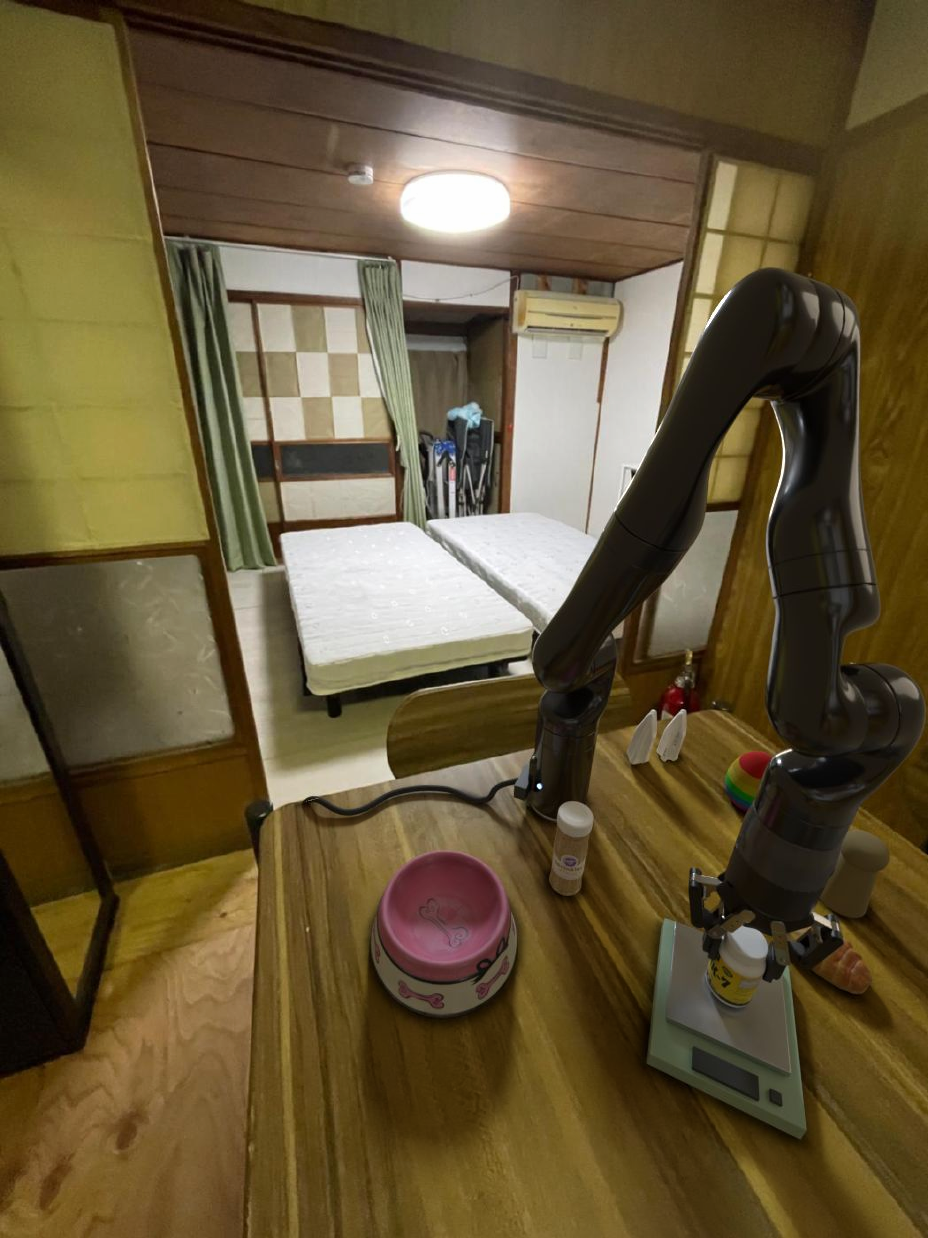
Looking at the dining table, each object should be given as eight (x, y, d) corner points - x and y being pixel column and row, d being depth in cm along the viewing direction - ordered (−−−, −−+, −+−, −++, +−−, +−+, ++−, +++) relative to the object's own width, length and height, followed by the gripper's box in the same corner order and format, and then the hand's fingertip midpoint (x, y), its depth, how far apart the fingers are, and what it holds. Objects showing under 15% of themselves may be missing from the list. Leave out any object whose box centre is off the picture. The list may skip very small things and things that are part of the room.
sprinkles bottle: (552, 898, 70) (562, 827, 64) (546, 868, 74) (554, 799, 68) (585, 897, 70) (598, 826, 64) (577, 867, 74) (588, 799, 68)
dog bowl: (448, 849, 77) (448, 816, 74) (547, 938, 65) (552, 903, 62) (341, 934, 65) (336, 899, 62) (439, 1061, 53) (439, 1026, 50)
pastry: (878, 977, 61) (890, 958, 60) (849, 1010, 58) (861, 991, 56) (798, 913, 68) (807, 894, 67) (769, 939, 65) (777, 920, 64)
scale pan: (665, 1021, 55) (667, 1016, 55) (674, 925, 64) (675, 921, 64) (788, 1077, 51) (791, 1073, 50) (778, 966, 60) (780, 962, 60)
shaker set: (630, 772, 92) (640, 723, 87) (617, 757, 95) (626, 708, 91) (686, 759, 95) (698, 711, 90) (671, 745, 99) (683, 697, 94)
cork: (875, 922, 67) (908, 865, 63) (825, 913, 68) (853, 856, 64) (853, 882, 73) (883, 826, 68) (807, 874, 74) (832, 818, 69)
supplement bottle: (696, 964, 59) (713, 918, 55) (735, 961, 59) (755, 915, 56) (719, 1011, 55) (738, 964, 51) (760, 1007, 55) (783, 960, 51)
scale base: (646, 1064, 53) (650, 1051, 52) (661, 927, 66) (665, 915, 65) (800, 1140, 48) (808, 1128, 47) (784, 976, 61) (790, 963, 60)
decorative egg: (726, 776, 91) (740, 732, 87) (778, 797, 87) (796, 751, 83) (716, 805, 85) (730, 758, 81) (771, 828, 81) (789, 781, 77)
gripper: (865, 849, 48) (809, 958, 56) (701, 800, 53) (670, 906, 61) (886, 919, 42) (819, 1031, 50) (698, 856, 47) (664, 966, 55)
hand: (737, 962), depth 55 cm, fingers closed on supplement bottle, 4 cm apart
